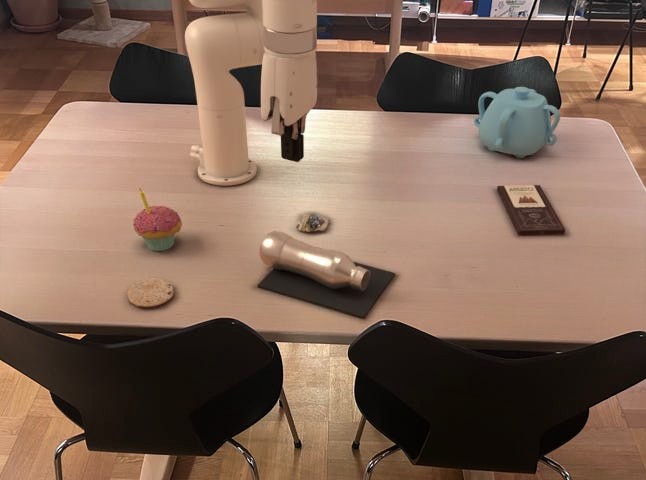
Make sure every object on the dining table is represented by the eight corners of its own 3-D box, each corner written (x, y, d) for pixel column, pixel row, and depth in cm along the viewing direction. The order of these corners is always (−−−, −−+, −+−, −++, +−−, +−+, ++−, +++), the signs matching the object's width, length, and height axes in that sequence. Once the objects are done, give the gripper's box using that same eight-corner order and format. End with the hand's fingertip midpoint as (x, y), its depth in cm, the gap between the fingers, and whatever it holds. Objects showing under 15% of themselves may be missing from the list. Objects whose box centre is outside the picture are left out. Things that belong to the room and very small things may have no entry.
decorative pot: (486, 164, 161) (496, 104, 152) (468, 133, 173) (476, 76, 164) (556, 161, 162) (570, 102, 153) (534, 131, 174) (546, 74, 165)
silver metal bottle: (259, 271, 128) (358, 307, 121) (251, 245, 123) (354, 281, 116) (277, 246, 131) (375, 279, 124) (270, 220, 125) (372, 253, 118)
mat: (257, 287, 124) (257, 285, 124) (295, 247, 134) (295, 245, 133) (363, 319, 118) (363, 316, 118) (395, 275, 127) (395, 272, 127)
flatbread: (174, 306, 119) (173, 301, 119) (128, 311, 118) (126, 306, 118) (172, 278, 125) (171, 273, 125) (128, 283, 124) (127, 278, 124)
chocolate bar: (519, 230, 137) (497, 185, 151) (518, 235, 138) (497, 189, 151) (565, 229, 138) (539, 185, 151) (564, 234, 138) (538, 189, 152)
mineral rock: (298, 236, 137) (297, 227, 135) (291, 215, 143) (291, 207, 141) (332, 233, 138) (333, 224, 136) (325, 212, 144) (325, 204, 142)
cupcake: (144, 261, 130) (133, 201, 122) (131, 238, 135) (120, 180, 127) (190, 249, 133) (182, 190, 125) (175, 228, 138) (167, 170, 130)
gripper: (291, 18, 108) (293, 135, 120) (240, 50, 98) (248, 173, 110) (336, 27, 105) (334, 144, 118) (288, 59, 95) (291, 184, 108)
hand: (292, 158), depth 114 cm, fingers closed
